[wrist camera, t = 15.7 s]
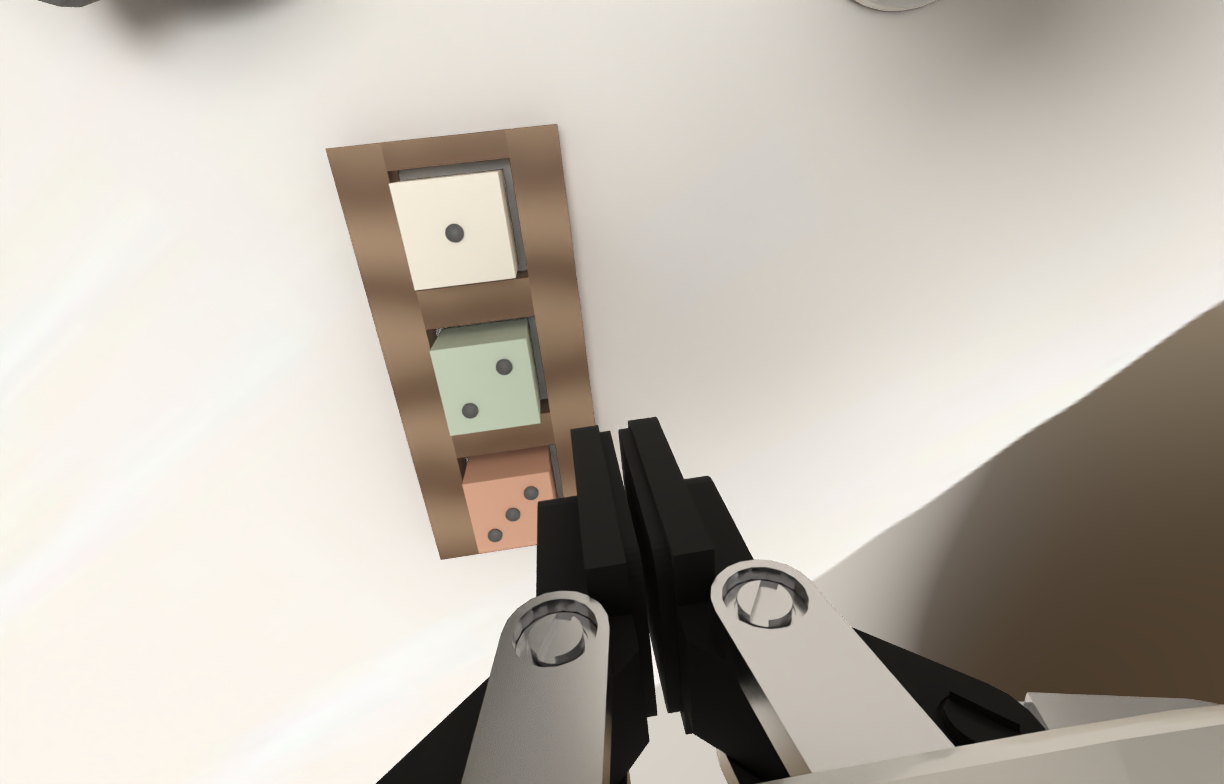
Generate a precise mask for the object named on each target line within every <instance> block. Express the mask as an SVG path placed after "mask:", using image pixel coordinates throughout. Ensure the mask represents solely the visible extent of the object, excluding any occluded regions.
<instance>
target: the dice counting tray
mask: <svg viewBox="0 0 1224 784" xmlns="http://www.w3.org/2000/svg"><path fill="white" fill-rule="evenodd" d="M326 152H327V156H328V160H329V163H330V167H331V170H332V174H333V177H334V181H335V185H336V188H337V192H338V195H339V199H340V202H341V206H342V209H343V213H344V217H345V220H346V224H347V227H348V231H349V234H350V238H351V242H352V245H353V249H354V252H355V256H356V259H357V263H358V267H359V270H360V274H361V277H362V281H363V284H364V288H365V291H366V295H367V299H368V302H369V306H370V309H371V313H372V316H373V320H374V324H375V327H376V331H377V334H378V338H379V341H380V345H381V349H382V352H383V356H384V359H385V363H386V366H387V370H388V374H389V377H390V381H391V384H392V388H393V391H394V395H395V398H396V402H397V406H398V409H399V413H400V416H401V420H402V423H403V427H404V431H405V434H406V438H407V441H408V445H409V448H410V452H411V456H412V459H413V463H414V466H415V470H416V473H417V477H418V480H419V484H420V488H421V491H422V495H423V498H424V502H425V505H426V509H427V513H428V516H429V520H430V523H431V527H432V530H433V534H434V538H435V541H436V545H437V548H438V552H439V555H440V559H441V560H443V559H449V558H455V557H462V556H468V555H475V554H479V551H478V547H477V543H476V539H475V535H474V531H473V527H472V523H471V518H470V514H469V510H468V506H467V502H466V498H465V494H464V490H463V486H462V483H463V479H464V475H465V471H466V467H467V463H466V459H465V457H468V456H475V455H482V454H489V453H496V452H503V451H510V450H517V449H524V448H530V447H537V446H544V445H551V444H555V445H556V452H557V458H558V464H559V470H560V476H561V483H562V489H563V495H564V497H570V496H577V491H576V481H575V471H574V462H573V452H572V442H571V433H570V429H574V428H581V427H588V426H595V420H594V412H593V404H592V396H591V388H590V380H589V372H588V364H587V356H586V348H585V341H584V333H583V325H582V317H581V309H580V301H579V293H578V285H577V277H576V269H575V261H574V253H573V245H572V237H571V230H570V222H569V214H568V206H567V198H566V190H565V182H564V174H563V166H562V158H561V150H560V142H559V134H558V126H557V124H552V125H542V126H533V127H524V128H514V129H505V130H496V131H486V132H477V133H467V134H458V135H449V136H439V137H430V138H421V139H411V140H402V141H392V142H383V143H374V144H364V145H355V146H346V147H336V148H327V149H326ZM504 158H509V159H510V165H511V171H512V178H513V184H514V190H515V196H516V202H517V209H518V215H519V221H520V227H521V234H522V240H523V246H524V252H525V258H526V265H527V270H525V271H517V274H516V278H512V279H504V280H496V281H488V282H480V283H471V284H463V285H455V286H447V287H439V288H431V289H423V290H415V289H414V285H413V281H412V277H411V273H410V269H409V265H408V261H407V256H406V252H405V248H404V244H403V240H402V236H401V232H400V228H399V224H398V220H397V216H396V211H395V207H394V203H393V199H392V195H391V191H390V187H389V184H390V183H394V182H399V181H400V180H399V176H398V171H397V170H404V169H413V168H422V167H431V166H440V165H449V164H458V163H467V162H477V161H486V160H495V159H504ZM530 316H535V321H536V327H537V333H538V339H539V346H540V352H541V358H542V364H543V371H544V377H545V383H546V389H547V395H548V399H541V400H540V423H538V424H531V425H524V426H517V427H510V428H503V429H496V430H489V431H482V432H475V433H468V434H461V435H453V436H450V433H449V429H448V424H447V420H446V416H445V412H444V408H443V404H442V400H441V396H440V392H439V388H438V384H437V379H436V375H435V371H434V367H433V363H432V359H431V355H430V349H431V348H432V346H433V344H434V342H435V341H436V339H437V336H436V332H435V329H436V328H444V327H452V326H460V325H467V324H475V323H483V322H491V321H499V320H506V319H514V318H522V317H530ZM531 546H533V545H531ZM525 547H526V546H525ZM518 548H520V547H518ZM512 549H513V548H512ZM506 550H507V549H506ZM499 551H501V550H499ZM493 552H494V551H493ZM486 553H488V552H486ZM480 554H481V553H480Z"/></svg>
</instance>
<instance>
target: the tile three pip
mask: <svg viewBox="0 0 1224 784" xmlns="http://www.w3.org/2000/svg"><path fill="white" fill-rule="evenodd" d="M462 486H463V490H464V494H465V498H466V502H467V506H468V510H469V514H470V518H471V523H472V527H473V531H474V535H475V539H476V543H477V547H478V551H479V554H480V553H486V552H493V551H499V550H506V549H512V548H518V547H525V546H531V545H537V506H538V501H543V500H550V499H557V492H556V486H555V480H554V474H553V468H552V462H551V456H550V450H549V445H544V446H537V447H530V448H524V449H517V450H510V451H503V452H496V453H489V454H482V455H475V456H469V458H468V462H467V467H466V471H465V475H464V479H463V483H462Z"/></svg>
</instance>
